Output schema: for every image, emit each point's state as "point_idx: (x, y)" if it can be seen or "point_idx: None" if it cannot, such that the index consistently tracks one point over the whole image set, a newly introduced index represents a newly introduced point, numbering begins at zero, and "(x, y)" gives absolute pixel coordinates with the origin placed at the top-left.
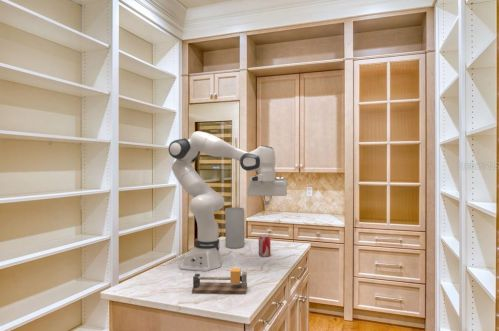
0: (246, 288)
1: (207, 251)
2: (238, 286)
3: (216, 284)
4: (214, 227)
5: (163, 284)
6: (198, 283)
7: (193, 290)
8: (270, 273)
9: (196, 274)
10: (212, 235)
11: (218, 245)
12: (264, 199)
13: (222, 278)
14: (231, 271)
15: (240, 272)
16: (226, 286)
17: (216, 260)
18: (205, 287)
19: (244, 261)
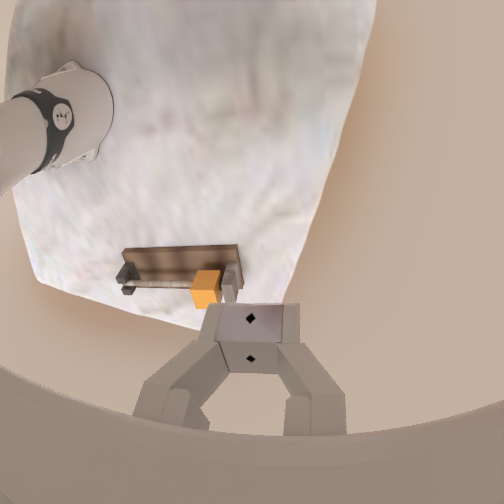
0: (239, 264)
1: (57, 161)
2: (220, 269)
3: (166, 262)
4: (7, 177)
5: (71, 248)
6: (135, 278)
7: (139, 286)
8: (292, 140)
9: (120, 282)
10: (27, 170)
11: (63, 128)
12: (205, 385)
13: (179, 286)
14: (199, 308)
15: (217, 287)
16: (193, 271)
17: (93, 128)
18: (153, 277)
19: (173, 28)
